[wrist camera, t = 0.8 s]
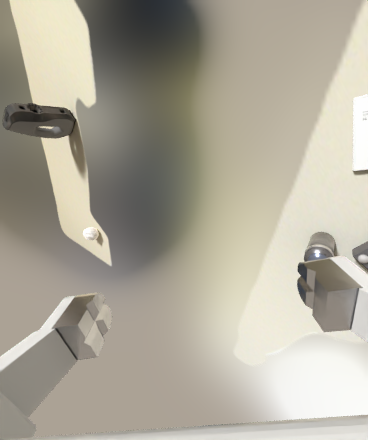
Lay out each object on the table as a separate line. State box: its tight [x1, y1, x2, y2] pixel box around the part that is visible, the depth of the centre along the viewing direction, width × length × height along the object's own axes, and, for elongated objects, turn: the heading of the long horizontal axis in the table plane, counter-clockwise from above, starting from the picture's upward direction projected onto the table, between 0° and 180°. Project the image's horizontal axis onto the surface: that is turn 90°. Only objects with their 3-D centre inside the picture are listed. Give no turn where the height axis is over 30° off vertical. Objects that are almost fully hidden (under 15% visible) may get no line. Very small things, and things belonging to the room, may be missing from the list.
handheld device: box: [3, 103, 76, 138], centre depth 83 cm, size 6×15×25 cm, turn 136°
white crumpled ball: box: [83, 227, 99, 240], centre depth 109 cm, size 8×8×8 cm
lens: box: [304, 232, 335, 262], centre depth 41 cm, size 5×5×9 cm
